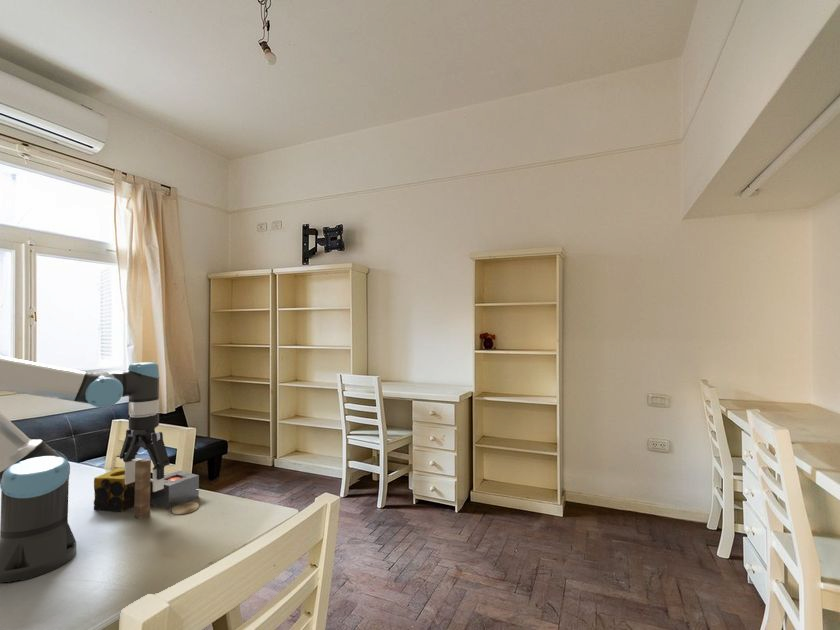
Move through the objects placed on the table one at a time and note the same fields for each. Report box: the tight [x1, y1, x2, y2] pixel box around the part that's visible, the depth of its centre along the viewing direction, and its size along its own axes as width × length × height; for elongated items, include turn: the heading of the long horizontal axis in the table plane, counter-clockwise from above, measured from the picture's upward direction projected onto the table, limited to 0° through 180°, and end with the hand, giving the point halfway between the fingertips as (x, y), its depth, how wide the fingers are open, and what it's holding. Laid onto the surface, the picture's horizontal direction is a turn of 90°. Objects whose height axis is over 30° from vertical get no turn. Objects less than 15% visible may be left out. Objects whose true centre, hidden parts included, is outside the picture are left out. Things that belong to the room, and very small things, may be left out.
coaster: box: [171, 502, 199, 516], centre depth 124 cm, size 7×7×1 cm
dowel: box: [133, 458, 152, 519], centre depth 121 cm, size 3×3×16 cm
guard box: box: [150, 470, 200, 510], centre depth 131 cm, size 10×10×7 cm
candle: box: [93, 466, 135, 512], centre depth 128 cm, size 10×10×10 cm
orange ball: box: [167, 477, 181, 482], centre depth 131 cm, size 4×4×4 cm
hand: (143, 486), depth 121 cm, fingers open, 13 cm apart
